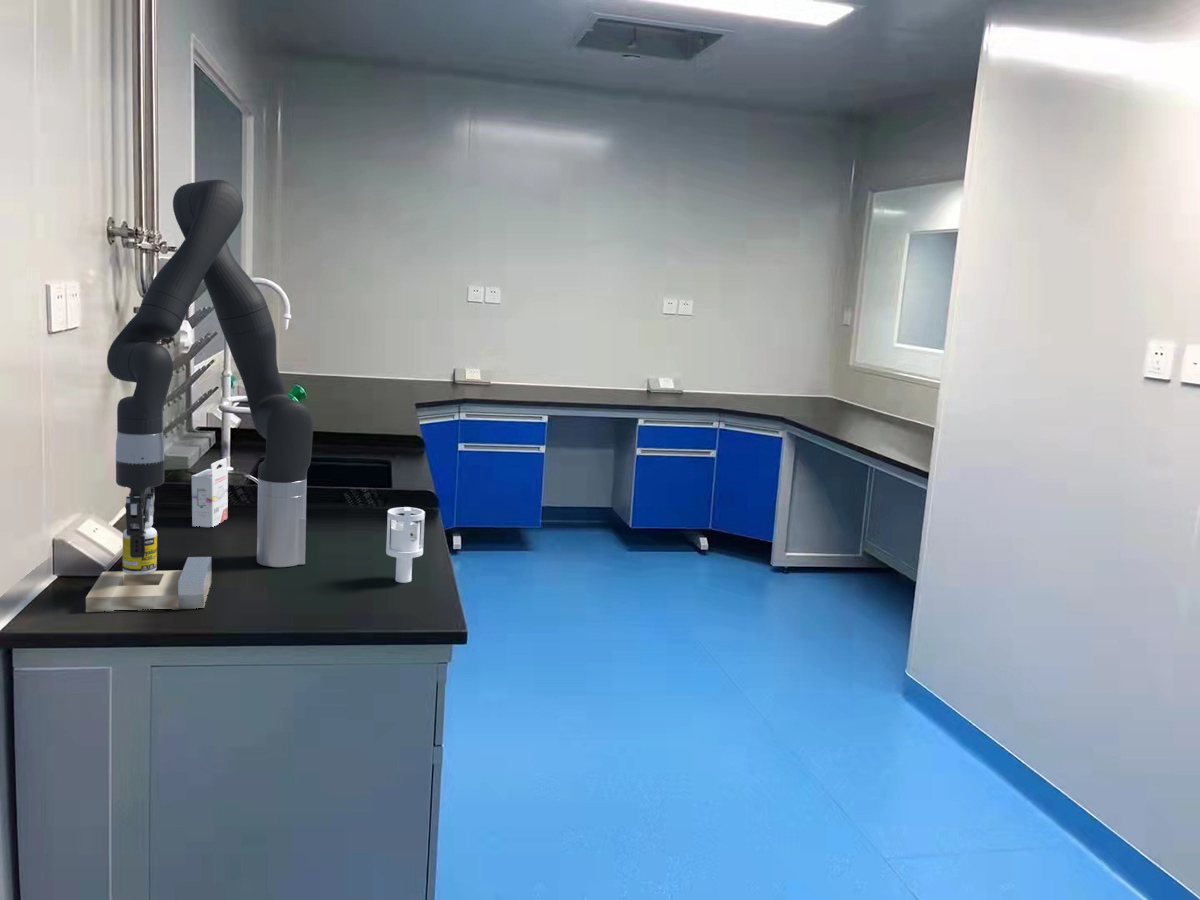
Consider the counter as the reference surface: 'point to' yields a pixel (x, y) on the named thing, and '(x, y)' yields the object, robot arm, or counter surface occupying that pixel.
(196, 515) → the ink cartridge box
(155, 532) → the supplement bottle
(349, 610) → the counter surface
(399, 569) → the strainer
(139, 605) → the jig
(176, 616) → the counter surface
